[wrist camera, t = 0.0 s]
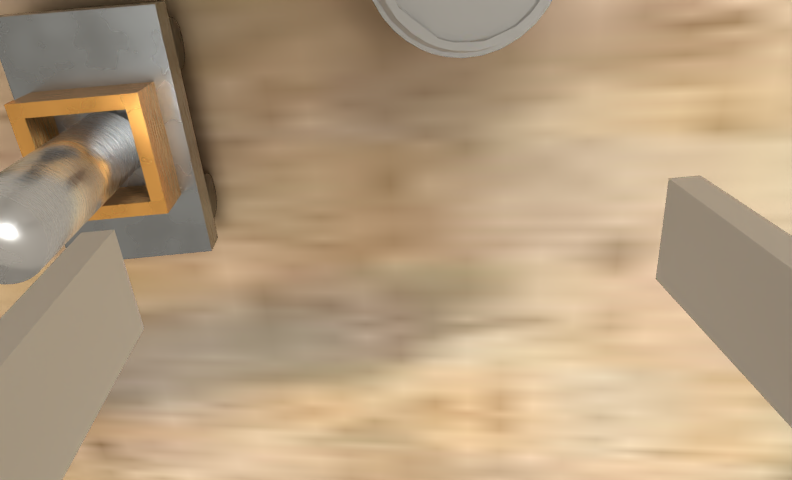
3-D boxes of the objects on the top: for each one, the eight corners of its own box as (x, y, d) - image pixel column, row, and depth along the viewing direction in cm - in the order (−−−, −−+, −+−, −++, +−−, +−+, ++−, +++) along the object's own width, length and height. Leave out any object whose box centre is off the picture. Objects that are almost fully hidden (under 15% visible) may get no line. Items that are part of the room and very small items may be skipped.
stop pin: (65, 115, 35) (-77, 199, 24) (134, 108, 35) (28, 189, 24) (85, 180, 37) (-38, 288, 25) (151, 174, 37) (60, 279, 25)
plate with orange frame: (30, 9, 37) (-47, 24, 30) (178, -3, 38) (137, 9, 30) (100, 231, 44) (50, 287, 37) (226, 219, 44) (201, 273, 37)
